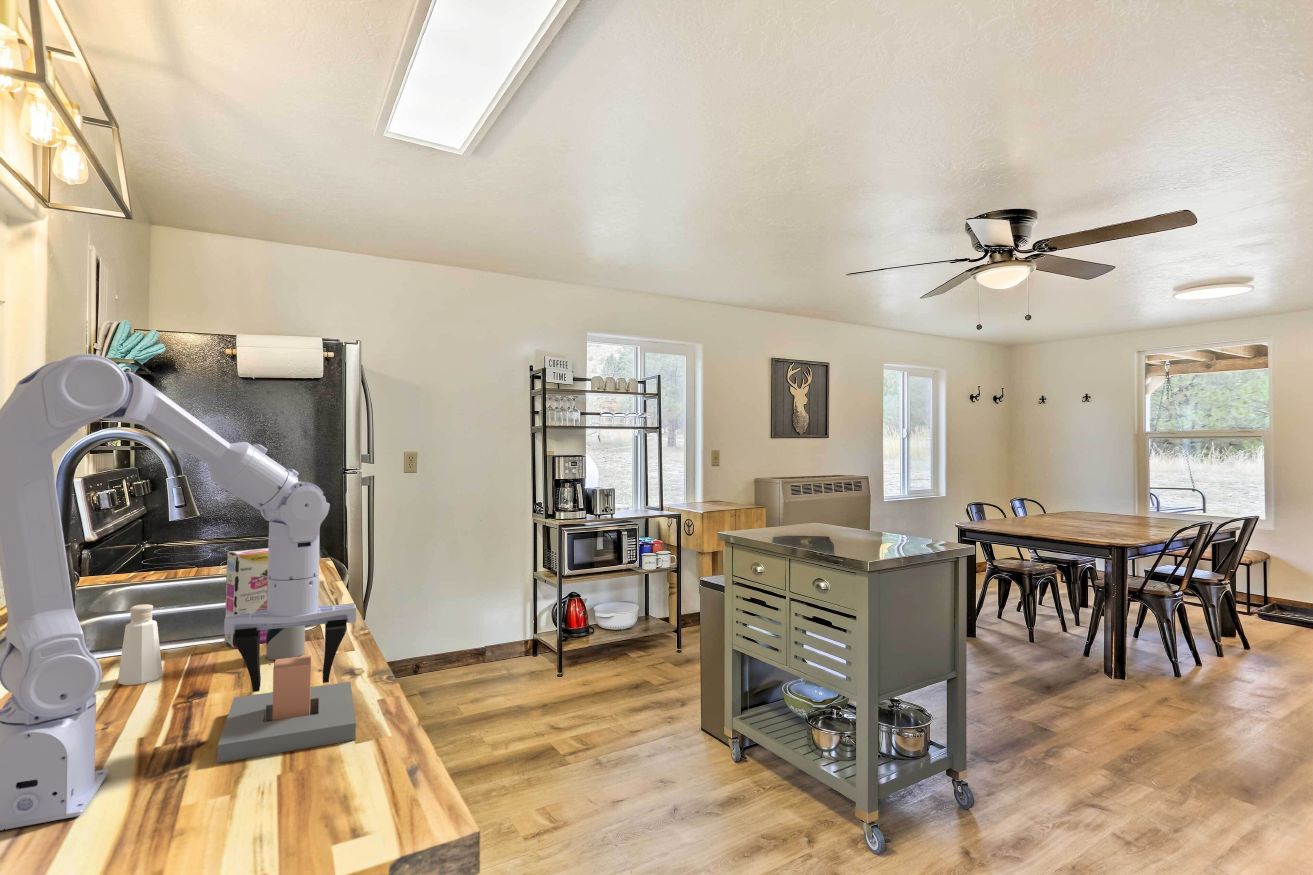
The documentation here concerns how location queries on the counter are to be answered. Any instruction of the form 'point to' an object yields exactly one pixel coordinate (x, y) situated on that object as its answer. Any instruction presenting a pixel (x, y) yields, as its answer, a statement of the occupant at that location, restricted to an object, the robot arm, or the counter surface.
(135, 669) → the pepper shaker
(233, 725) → the socket block
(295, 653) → the lotion bottle
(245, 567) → the candy bar box
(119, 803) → the counter surface
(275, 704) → the terracotta peg
